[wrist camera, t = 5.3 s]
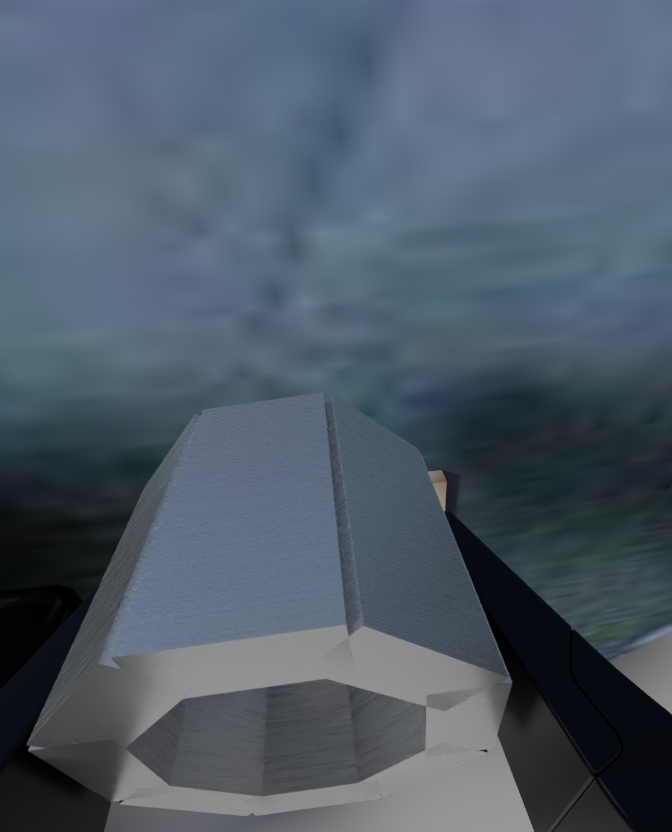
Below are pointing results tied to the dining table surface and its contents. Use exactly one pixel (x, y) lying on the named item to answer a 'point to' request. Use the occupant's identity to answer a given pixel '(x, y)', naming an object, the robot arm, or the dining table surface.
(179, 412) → the dining table surface
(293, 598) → the aluminium ring
